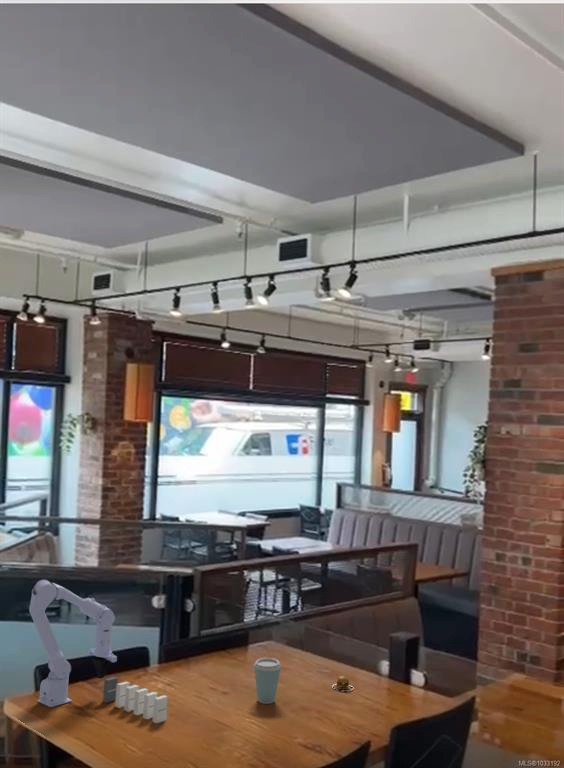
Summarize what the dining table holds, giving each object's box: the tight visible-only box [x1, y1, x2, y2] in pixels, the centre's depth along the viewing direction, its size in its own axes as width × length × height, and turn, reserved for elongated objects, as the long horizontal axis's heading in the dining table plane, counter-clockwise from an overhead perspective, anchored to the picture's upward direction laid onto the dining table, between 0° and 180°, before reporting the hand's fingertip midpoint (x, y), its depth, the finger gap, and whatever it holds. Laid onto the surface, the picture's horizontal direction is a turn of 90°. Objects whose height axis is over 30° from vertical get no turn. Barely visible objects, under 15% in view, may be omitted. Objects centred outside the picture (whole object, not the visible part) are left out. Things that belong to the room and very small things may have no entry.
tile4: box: [133, 687, 149, 716], centre depth 272 cm, size 4×2×8 cm, turn 142°
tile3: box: [123, 684, 140, 712], centre depth 275 cm, size 4×2×8 cm, turn 142°
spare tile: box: [102, 676, 119, 704], centre depth 282 cm, size 4×2×8 cm, turn 142°
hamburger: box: [331, 675, 355, 692], centre depth 313 cm, size 12×12×6 cm
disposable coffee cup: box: [253, 657, 282, 705], centre depth 292 cm, size 11×11×15 cm
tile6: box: [152, 694, 169, 724], centre depth 265 cm, size 4×2×8 cm, turn 142°
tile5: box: [142, 691, 159, 720], centre depth 269 cm, size 4×2×8 cm, turn 142°
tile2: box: [114, 681, 131, 709], centre depth 278 cm, size 4×2×8 cm, turn 142°
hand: (100, 677), depth 286 cm, fingers closed
